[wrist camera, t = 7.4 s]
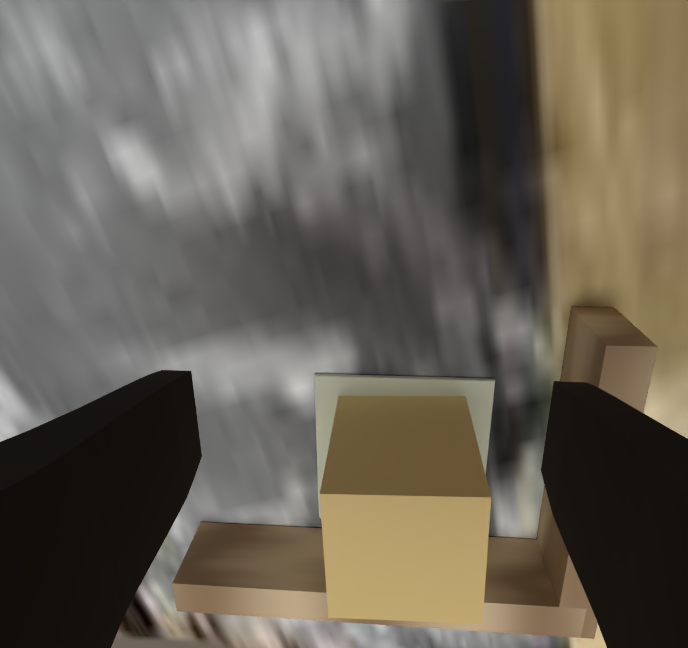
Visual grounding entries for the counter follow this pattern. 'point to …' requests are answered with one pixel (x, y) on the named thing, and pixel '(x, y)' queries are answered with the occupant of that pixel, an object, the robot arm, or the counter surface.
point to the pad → (379, 385)
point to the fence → (503, 553)
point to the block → (405, 511)
